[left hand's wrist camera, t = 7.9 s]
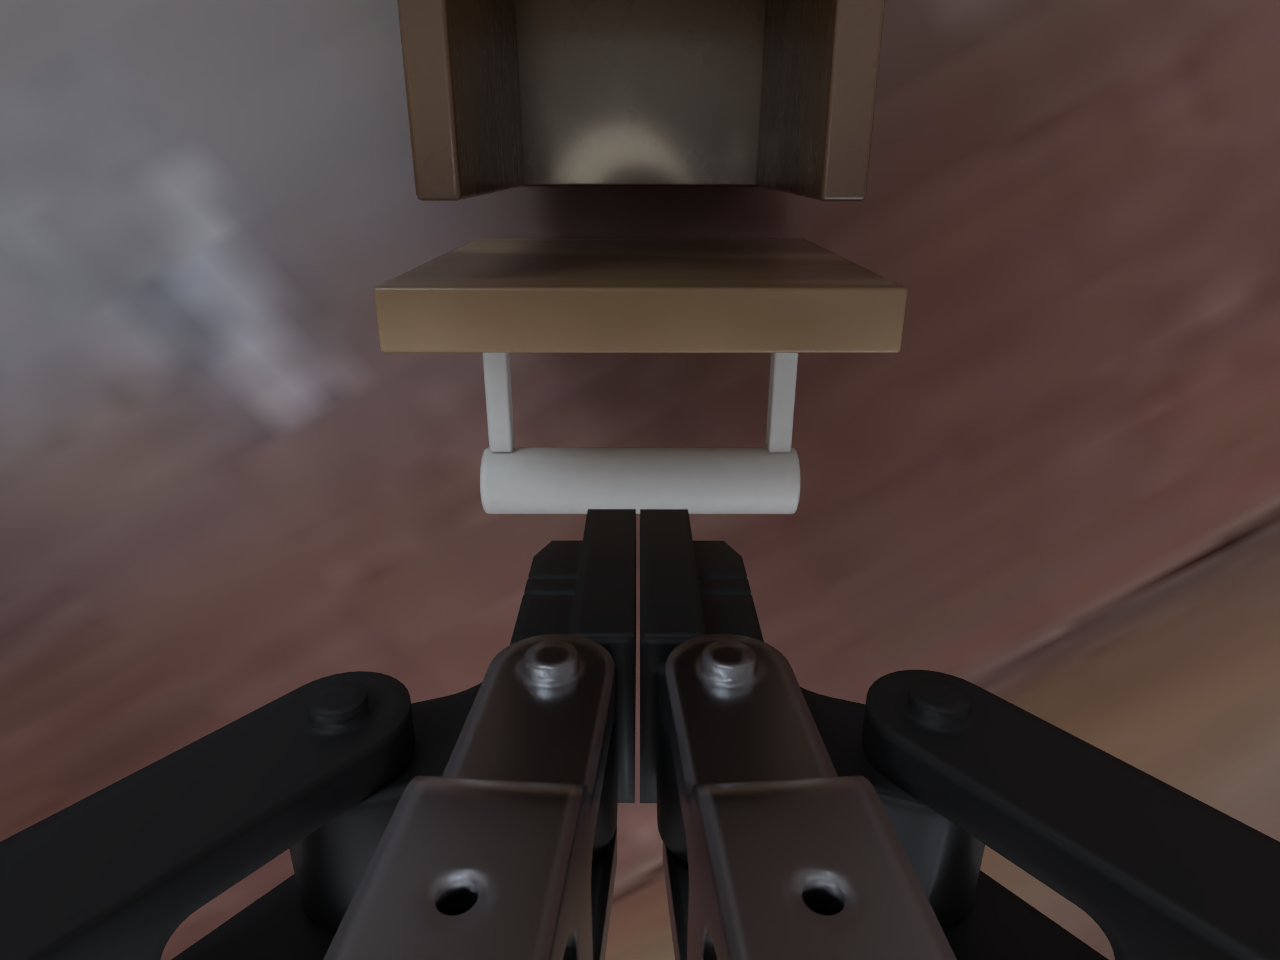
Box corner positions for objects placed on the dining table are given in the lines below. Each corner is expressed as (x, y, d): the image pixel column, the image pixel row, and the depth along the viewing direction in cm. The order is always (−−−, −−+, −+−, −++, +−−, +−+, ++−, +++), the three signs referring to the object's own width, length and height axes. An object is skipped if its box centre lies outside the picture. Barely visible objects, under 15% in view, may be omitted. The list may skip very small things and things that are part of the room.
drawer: (788, 457, 26) (868, 616, 17) (491, 456, 26) (411, 616, 17) (854, -430, 18) (1070, -1025, 9) (427, -431, 18) (213, -1026, 9)
